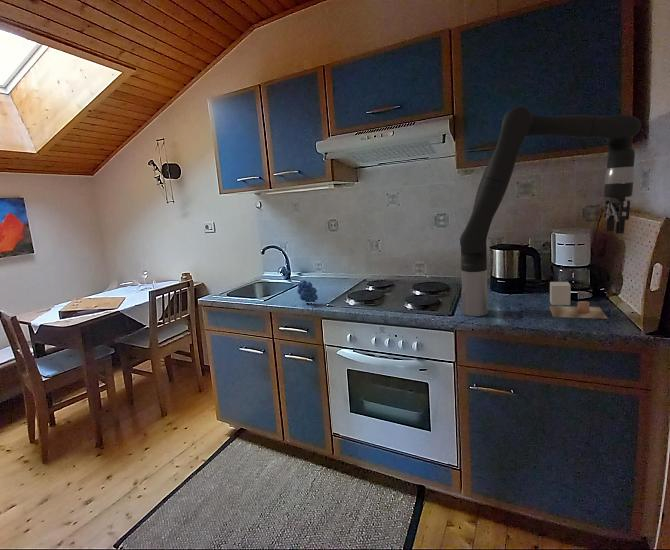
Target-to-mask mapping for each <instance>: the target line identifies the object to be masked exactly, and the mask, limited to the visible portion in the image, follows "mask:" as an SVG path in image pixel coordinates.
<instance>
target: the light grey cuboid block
mask: <svg viewBox="0 0 670 550" xmlns="http://www.w3.org/2000/svg"><path fill="white" fill-rule="evenodd" d="M571 287H572V286H571V284H570V283H569V281H550V282H549V302H550V304H551V305H550V306H571V291H572V290H571Z"/></svg>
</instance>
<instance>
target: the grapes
mask: <svg viewBox="0 0 670 550" xmlns="http://www.w3.org/2000/svg"><path fill="white" fill-rule="evenodd" d="M317 292H318V290H317V289H316V288H315V287H313V284H312V282H310V281H306V280H303V279H302V280H301V282H298V283H297V290H296V293H297V294H298V295H299V299H300V300H301V301H304V303H305V302H315V303H316V301H317V300H318V299H319V296H318V295H317Z"/></svg>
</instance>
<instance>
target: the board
mask: <svg viewBox="0 0 670 550" xmlns="http://www.w3.org/2000/svg"><path fill="white" fill-rule="evenodd" d="M549 310H550V312H551V315H552V317H553V318H570V319H571V318H573V319H574V318H575V319H577V318H581V319H609V318H608V317H607V315H606V313H604V311H603V310H602V308H601V307H599V306H590V309H589V313H587V314H583V313H578V312H577V306H570V305H549Z"/></svg>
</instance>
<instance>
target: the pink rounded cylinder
mask: <svg viewBox="0 0 670 550" xmlns="http://www.w3.org/2000/svg"><path fill="white" fill-rule="evenodd" d="M590 305H591V304H590V301H587V300H585V301H584V300H580V301H577V306H576V307H577V312H578V313H583V314H587V313H589V309H590V307H591V306H590Z"/></svg>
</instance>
